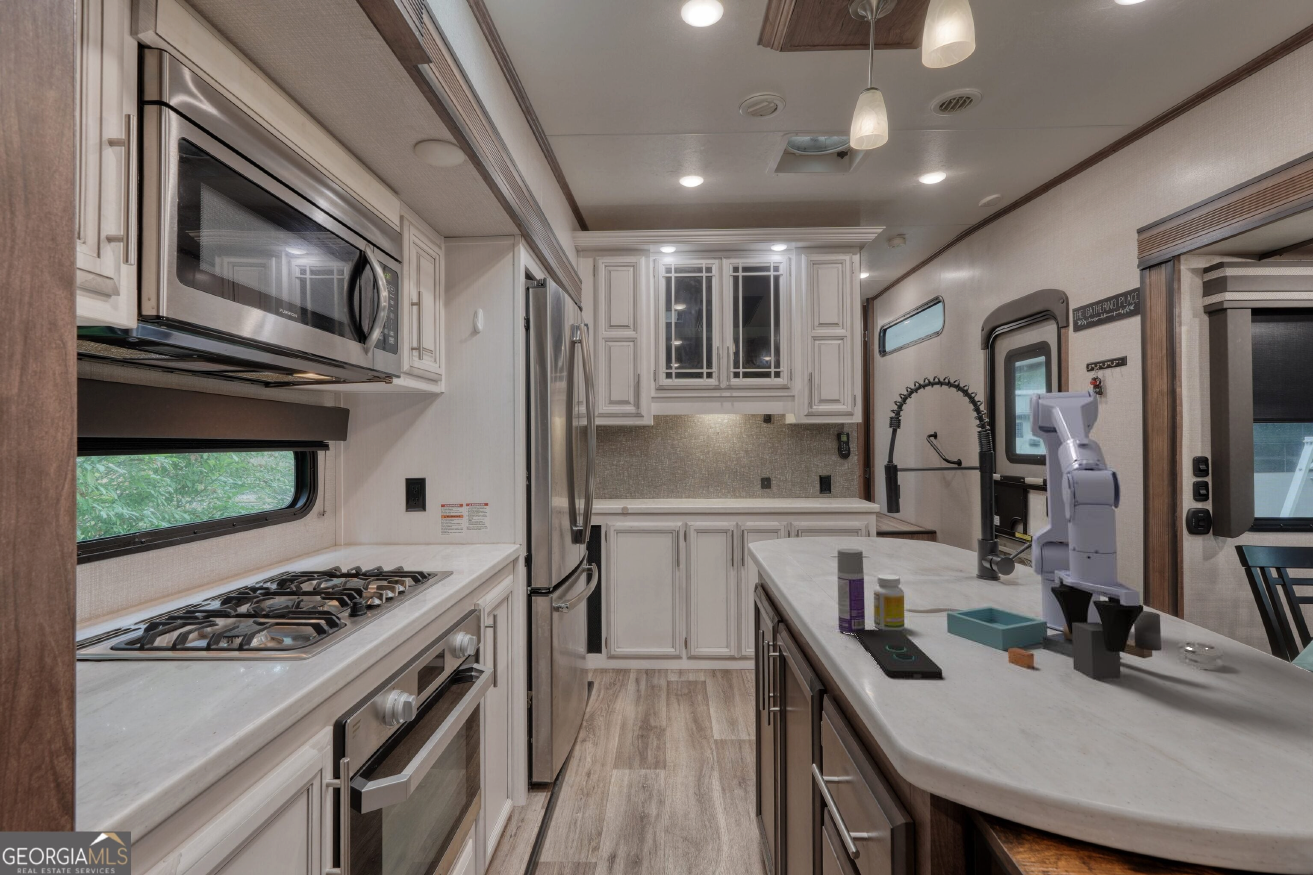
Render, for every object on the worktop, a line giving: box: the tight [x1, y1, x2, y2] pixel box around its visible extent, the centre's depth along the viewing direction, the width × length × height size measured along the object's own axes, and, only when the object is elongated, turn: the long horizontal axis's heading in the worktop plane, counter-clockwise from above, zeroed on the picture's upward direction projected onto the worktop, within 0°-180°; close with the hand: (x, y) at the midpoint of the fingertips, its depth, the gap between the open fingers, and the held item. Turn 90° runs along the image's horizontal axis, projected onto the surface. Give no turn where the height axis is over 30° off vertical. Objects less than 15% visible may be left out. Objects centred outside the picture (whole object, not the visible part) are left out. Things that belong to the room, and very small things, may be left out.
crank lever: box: [1062, 610, 1162, 659], centre depth 91 cm, size 14×4×6 cm, turn 22°
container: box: [837, 548, 866, 634], centre depth 109 cm, size 5×5×15 cm
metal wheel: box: [1177, 641, 1224, 671], centre depth 90 cm, size 5×3×5 cm
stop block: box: [1072, 622, 1122, 680], centre depth 87 cm, size 4×4×7 cm
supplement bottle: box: [873, 574, 905, 631], centre depth 111 cm, size 5×5×10 cm
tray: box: [946, 605, 1048, 651], centre depth 104 cm, size 11×11×4 cm
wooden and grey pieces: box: [1007, 632, 1073, 669], centre depth 94 cm, size 18×7×2 cm, turn 112°
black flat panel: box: [855, 628, 943, 680], centre depth 96 cm, size 8×2×20 cm
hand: (1095, 642), depth 87 cm, fingers open, 7 cm apart
